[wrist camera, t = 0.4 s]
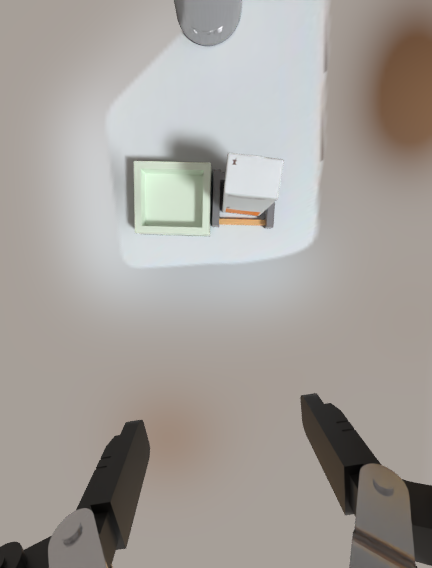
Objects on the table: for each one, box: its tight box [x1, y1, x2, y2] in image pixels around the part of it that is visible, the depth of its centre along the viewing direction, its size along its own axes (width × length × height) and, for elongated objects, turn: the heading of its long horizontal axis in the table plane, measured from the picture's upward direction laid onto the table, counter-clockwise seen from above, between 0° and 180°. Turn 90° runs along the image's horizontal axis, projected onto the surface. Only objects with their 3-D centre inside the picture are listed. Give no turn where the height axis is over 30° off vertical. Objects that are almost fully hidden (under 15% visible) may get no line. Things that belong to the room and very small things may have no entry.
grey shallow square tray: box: [212, 170, 275, 228], centre depth 35 cm, size 8×9×2 cm
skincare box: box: [222, 153, 284, 216], centre depth 30 cm, size 6×4×12 cm
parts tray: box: [134, 161, 212, 236], centre depth 35 cm, size 10×11×3 cm
